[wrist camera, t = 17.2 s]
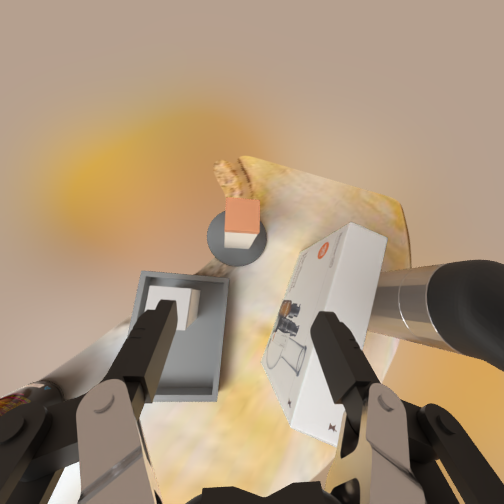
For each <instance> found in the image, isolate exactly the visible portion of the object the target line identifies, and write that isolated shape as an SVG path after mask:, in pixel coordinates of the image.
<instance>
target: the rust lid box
mask: <svg viewBox="0 0 504 504" xmlns="http://www.w3.org/2000/svg"><path fill="white" fill-rule="evenodd" d="M224 232H225V243H224V248H240V249H249V248H250V246H251V245H252V243H253V241H254V240H255V238H256V236H257V234H259V232H260V200H253V199H242V198H231V197H226V211H225V230H224Z"/></svg>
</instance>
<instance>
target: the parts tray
mask: <svg viewBox="0 0 504 504" xmlns="http://www.w3.org/2000/svg"><path fill="white" fill-rule="evenodd" d="M150 286H163V287H176V288H189V289H194V290H201V291H200V299H199V306H198V314H197V319H196V320H195V321H194V322H193V323H192V324H190V325H189V326H188V327H187V329H186V330H176V332H175V335H174V338H173V341H172V344H171V347H170V350H169V353H168V356H167V359H166V362H165V365H164V369H163V372H162V375H161V378H160V381H159V384H158V387H157V390H156V393H155V396H154V399H153V402H217V396H218V386H219V376H220V366H221V356H222V346H223V336H224V326H225V316H226V306H227V296H228V286H229V278H222V277H211V276H199V275H187V274H176V273H164V272H152V271H141V275H140V280H139V284H138V289H137V294H136V299H135V303H134V308H133V313H132V318H131V322H130V327H129V332H128V335H129V334H130V332H131V330H132V329H133V326H134V325H135V323H136V321H137V319H138V318H139V317H140V316H141V315H142V314H143V313H144V312H145V307H146V302H147V297H148V292H149V287H150ZM127 338H128V336H127Z"/></svg>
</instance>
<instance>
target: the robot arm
mask: <svg viewBox="0 0 504 504" xmlns="http://www.w3.org/2000/svg"><path fill="white" fill-rule="evenodd" d="M177 323H178V315H177V302H176V300H163V299H161V300H160V301H159V302H158V304H157V306H156V309H155V310H150V309H147V310H146V311H145V312H144V313H143V314H142V315H141V316H140V317H139V318H138V319H137V321H136V323H135V325H134V326H133V329H132V330H131V332H130V334H129V335H128V338H127V339H126V341H125V343H124V344H123V346H122V348H121V350H120V352H119V353H118V355H117V357H116V359H115V360H114V362H113V364H112V366H111V368H110V369H109V371H108V373H107V375H106V376H105V377H104V379H103V380H102V381H101V382H100V383H99V384H98V385H96V386H95V387H94V388H92V389H91V390H90V391H89V392H87V393H86V394H84V395H82V396H79V397H77V398H74V399H70V400H67V401H64V402H61V403H58V404H54V405H51V406H48V407H44V406H43V405H42V404H40V403H36V402H31V403H26V404H22V405H20V406H17V407H15V408H13V409H11V410H10V411H8V412H6V413H5V414H3V415H2V416H0V504H47V503H48V501H49V499H50V497H51V495H52V493H53V491H54V489H55V487H56V485H57V483H58V481H59V478H60V476H61V474H62V472H63V470H64V468H65V467H67V466H69V465H72V464H74V463H76V462H80V476H81V496H80V498H79V500H78V503H77V504H164V503H163V500H162V496H161V492H160V489H159V485H158V482H157V478H156V475H155V472H154V469H153V466H152V462H151V459H150V455H149V451H148V448H147V444H146V440H145V437H144V433H143V429H142V426H141V422H140V418H139V417H140V414H141V411H142V409H143V406H144V403H152V402H153V399H154V396H155V393H156V390H157V387H158V384H159V381H160V378H161V375H162V372H163V369H164V365H165V362H166V359H167V356H168V353H169V350H170V347H171V344H172V341H173V338H174V335H175V332H176V329H177ZM367 330H368V331H372V332H375V333H379V334H383V335H387V336H391V337H395V338H399V339H403V340H407V341H411V342H414V343H419V344H422V345H427V346H430V347H435V348H439V349H443V350H447V351H450V352H454V353H458V354H462V355H466V356H470V357H474V358H477V359H481V360H484V361H487V362H488V363H490V364H491V365H493V366H495V367H497V368H498V369H500V370H502V371H504V264H501V263H498V262H494V261H489V260H469V261H461V262H453V263H447V264H440V265H432V266H425V267H418V268H411V269H403V270H395V271H388V272H380V276H379V280H378V285H377V289H376V293H375V298H374V302H373V306H372V311H371V315H370V320H369V324H368V329H367ZM310 335H311V339H312V342H313V345H314V348H315V351H316V353H317V356H318V359H319V362H320V365H321V368H322V371H323V373H324V376H325V379H326V382H327V385H328V388H329V391H330V393H331V396H332V399H333V402H334V404H343V406H344V408H345V410H344V412H343V417H342V422H341V428H340V433H339V439H338V444H337V450H336V455H335V459H334V461H333V464H332V466H331V467H330V470H329V472H328V476H327V480H326V484H325V489H324V490H322V487H321V483H320V481H316V482H299V483H292V484H290V485H288V486H286V487H284V488H283V489H281V490H279V491H277V492H275V493H273V494H271V495H270V496H268V497H260V496H258V495H255V494H252V493H250V492H247V491H244V490H242V489H239V488H236V487H234V486H231V487H214V488H203V489H202V494H200V495H198V496H196V497H194V498H193V499H191V500H190V501H188V502H187V503H186V504H459V502H458V500H457V498H456V496H455V495H454V493H453V491H452V489H451V488H450V486H449V484H448V482H447V480H446V479H445V477H444V475H443V474H442V472H441V470H440V468H439V466H438V465H437V463H436V461H435V460H438V459H440V460H441V462H442V464H443V466H444V467H445V469H446V471H447V473H448V474H449V476H450V478H451V479H452V481H453V483H454V485H455V486H456V488H457V490H458V492H459V493H460V495H461V497H462V498H463V500H464V502H465V504H504V484H503V483H502V481H501V480H500V479H499V477H498V476H497V474H496V473H495V472H494V470H493V469H492V468H491V466H490V465H489V463H488V462H487V461H486V459H485V458H484V457H483V455H482V454H481V452H480V451H479V450H478V448H477V447H476V446H475V444H474V443H473V441H472V440H471V438H470V437H469V436H468V434H467V433H466V431H465V430H464V429H463V427H462V426H461V425H460V423H459V422H458V421H457V420H456V419H455V418H454V417H453V416H452V415H451V414H450V413H449V412H448V411H446V410H445V409H444V408H442V407H440V406H438V405H436V404H427V405H425V406H424V407H422V408H421V407H419V406H416V405H413V404H411V403H408V402H406V401H403V400H401V399H399V397H398V396H397V395H396V394H395V393H394V392H393V391H392V390H391V389H390V388H388V387H387V386H385V385H383V384H381V383H380V381H379V380H378V378H377V376H376V374H375V373H374V371H373V369H372V367H371V366H370V364H369V362H368V360H367V358H366V357H365V355H364V353H363V351H362V350H361V349H360V346H359V344H358V343H357V341H356V339H355V337H354V335H353V334H352V332H351V330H350V329H349V328H348V327H347V326H346V325H345V324H344V323H343V322H340V321H339V319H338V317H337V315H336V314H335V313H334V312H330V311H319V312H318V314H317V316H316V318H315V320H314V322H313V324H312V326H311V329H310Z"/></svg>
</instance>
